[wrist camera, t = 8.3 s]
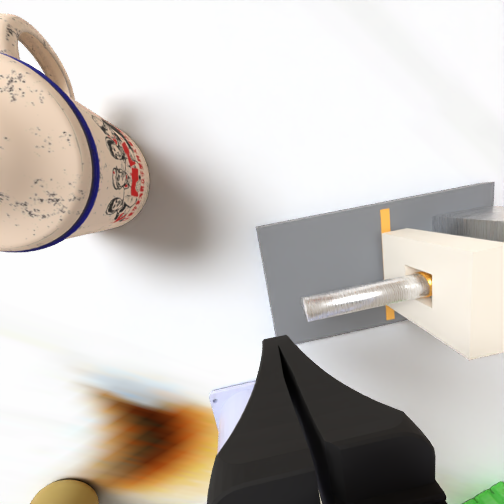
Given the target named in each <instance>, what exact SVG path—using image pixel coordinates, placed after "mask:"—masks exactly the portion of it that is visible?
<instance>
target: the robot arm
mask: <svg viewBox="0 0 504 504" xmlns="http://www.w3.org/2000/svg"><path fill="white" fill-rule="evenodd" d="M262 344H263V348H262V357H261V362H260V367H259V371H258V375H257V378H256V381H254V382H249V383H245V384H241V385H236V386H232V387H227V388H223V389H218V390H214V391H211V392H210V395H209V399H210V402H211V406H212V410H213V413H214V417H215V421H216V424H217V428H218V432H219V436H218V453H217V455H216V458H215V462H214V466H213V470H212V474H211V479H210V484H209V490H208V498H207V504H320V497H321V501H322V504H447V503H446V501H445V500H446V495H445V493H444V491H443V490H442V489H441V487H440V486H439V484H438V483H437V482H436V480H435V452H434V448H433V446H432V444H431V443H430V441H429V440H428V439H427V437H426V436H425V435H424V434H423V432H422V431H421V430H420V429H419V428H418V427H417V426H416V425H415V424H414V422H413V421H412V420H411V419H410V418H409V417H408V416H407V415H406V414H405V413H404V412H402V411H400V410H397V409H395V408H392V407H390V406H387V405H385V404H382V403H380V402H377V401H375V400H373V399H371V398H369V397H367V396H364V395H362V394H360V393H359V392H357V391H355V390H353V389H351V388H350V387H348V386H346V385H344V384H343V383H341V382H340V381H338V380H336V379H335V378H333V377H332V376H331V375H329V374H328V373H326V372H325V371H324V370H323V369H321V368H320V367H319V366H318V365H316V364H315V363H314V362H313V361H312V360H311V359H309V358H308V357H307V356H306V355H305V354H304V353H303V352H302V351H301V350H300V349H299V348H298V347H297V346H296V345H295V344H294V342H293V341H292V340H291V339H290V338H289V336H287V335H282V336H278V337H273V338H268V339H264V340H263V341H262ZM214 399H217V400H214ZM318 490H319V491H318ZM319 493H320V497H319Z"/></svg>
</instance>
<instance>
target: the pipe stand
mask: <svg viewBox="0 0 504 504" xmlns="http://www.w3.org/2000/svg"><path fill="white" fill-rule="evenodd" d="M432 232H437V233H444V234H450V235H457V236H464V237H470V238H477V239H484V240H491V241H497V242H504V206H481V207H476V208H471V209H466V210H461V211H456V212H451V213H446V214H441V215H436V216H432ZM429 296H432V274H429V273H426V272H424V271H421V272H416V273H414V274H410V275H405V276H401V277H396V278H391V279H386V280H382V281H377V282H372V283H367V284H363V285H358V286H353V287H348V288H344V289H339V290H334V291H329V292H325V293H320V294H315V295H310V296H306V297H301V306H302V310H303V314H304V317H305V319H306V321H307V322H310V321H314V320H319V319H324V318H328V317H333V316H338V315H342V314H347V313H352V312H356V311H361V310H366V309H370V308H375V307H380V306H384V305H389V304H393V303H398V302H403V301H407V300H412V299H417V298H421V297H429Z"/></svg>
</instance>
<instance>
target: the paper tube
mask: <svg viewBox="0 0 504 504" xmlns="http://www.w3.org/2000/svg"><path fill="white" fill-rule="evenodd" d="M30 504H99V501H98V496H97V494H96V492H95V491H94V490H93V489H92V488H91V487H90V486H89V485H87V484H85V483H83V482H81V481H77V480H60V481H56V482H53V483H51V484H49V485H47V486H46V487H44V488H43V489H41V490H40V491H39V492H38V493H37V494H36V496H35V497H34V498H33V500H32V501H31V503H30Z"/></svg>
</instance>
